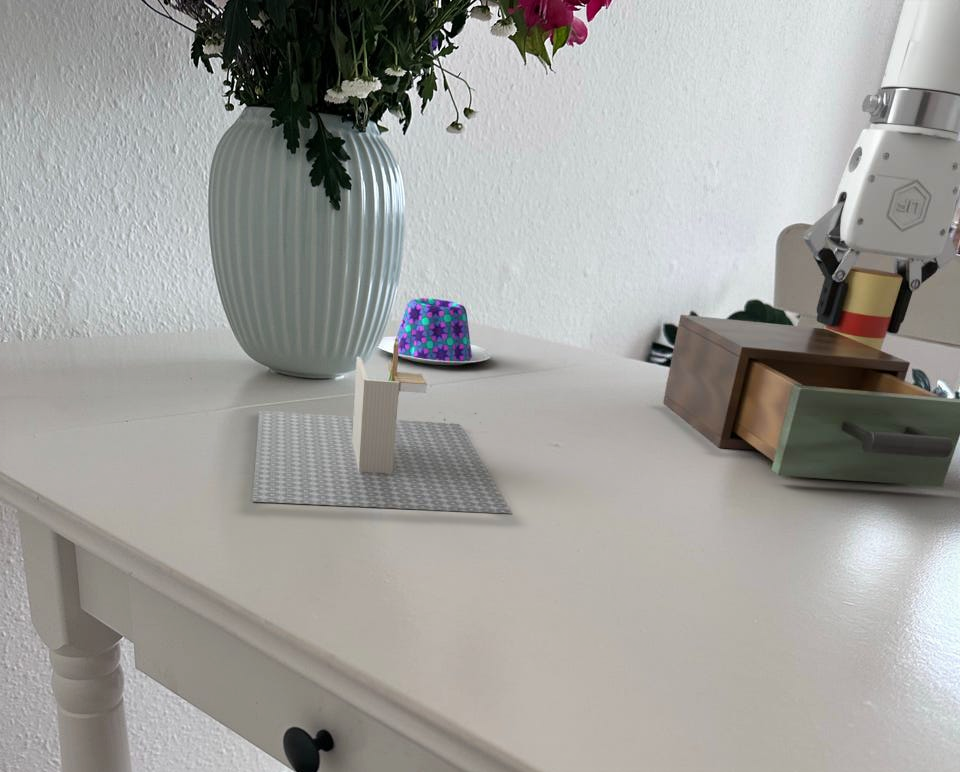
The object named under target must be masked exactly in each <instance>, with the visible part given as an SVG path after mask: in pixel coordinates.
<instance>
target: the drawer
mask: <svg viewBox="0 0 960 772" xmlns="http://www.w3.org/2000/svg"><path fill="white" fill-rule="evenodd" d="M732 431H733V432H734V433H736V434H737V435H738V436H740V437H741V438H743V439H744V440H745V441H747V442H748V443H749V444H751V445H752V446H753V447H755V448H756V449H757V450H756V451H758V450H759V452H760V453H762V454H763V455H764V456H766V457H767V458H768V459H769V460H771V461H772V466H771V472H773V473H774V474H775V475H777V476H780V477H796V478H810V479H824V480H839V481H853V482H855V481H856V482H857V481H858V482H870V483H883V484H884V483H885V484H900V485H915V486H916V485H917V486H931V487H943V486H944V482H945V480H946V477H947V475H948V471H949V469H950V465H951V462H952V460H953V456H954V454H955V451H956V449H957V445H958V443H959V440H960V398H950V397H942V396H941V395H939V394H936V393H934V392H932V391H929V390H927V389H924V388H922V387H920V386H917V385H915V384H913V383H910V382H909V381H907V380H905V381H904V380H902V379H899V378H897V377H895V376H893V375H890V374H888V373H886V372H883V371H881V370H877V369H866V368H855V367H844V366H833V365H822V364H811V363H800V362H789V361H778V360H767V359H756V358H749V359H748V364H747V368H746V372H745V376H744V381H743V385H742V389H741V393H740V398H739V402H738V406H737V410H736V414H735V419H734V423H733V427H732Z"/></svg>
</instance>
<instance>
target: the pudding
mask: <svg viewBox="0 0 960 772" xmlns="http://www.w3.org/2000/svg"><path fill="white" fill-rule="evenodd" d="M470 337H471V336H470V328H469V320H468V312H467V310H466V307H465V306H464V305H463V304H461V303H457V302H454V301H451V300H444V299H439V298H423V297H420V298H413V299H411V300H409V301H408V303H407V304H406V306H405V310H404V312H403V315H402V319H401V322H400V325H399V329H398V331H397V334H396V335H393V336H392V335H391V336H385V337H382V338H383V339H382V341H381V343H380V344H379V346H378V347H377V348H379V349H380V350H383V351H385V352H387V353H390V354H392V355H393V349H394V344H395V338H396V339H398V343H399V352H398V358H399V357H400V358H401V359H405V360H408V361H412V362H415V363H422V364H428V365H429V364H430V365H437V366H438V365H439V366H461V365H466V364H471V363H480V362H483V361H487V360H489V359H491V358H492V353H491V352H490V351H488V350H487V349H485V348H483V347H481V346H477V345H474V344H471V338H470Z"/></svg>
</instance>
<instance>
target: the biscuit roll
mask: <svg viewBox="0 0 960 772" xmlns="http://www.w3.org/2000/svg"><path fill="white" fill-rule="evenodd" d="M902 279H903V278H902V277H901V275H899V274H895V273H894V272H890V271H885V270H880V269H874V268H867V267H859V266H852V268H851V270H850V271H849V273H848V274H847V276H846V278H845V281H844V282H845V283H848V286H849V287H848V291H847V295H846V298H845V302H844V305H843V309H842V312H841V316H840V319H839V323H838V325H837V326H835V327H831V326H827V325H825V324H824V329H828V330H830V331H833V332H835V333H838V334H840V335H843V336H845V337H848V338H850V339H853V340H855V341H858V342H860V343H863V344H865V345H868V346H870V347H873V348H875V349H878V350H880V351H882V348H883V344H884V341H885V338H886V336H887V333H888V332H887V330H888V327H889V323H890V320H891V315H892V312H893V308H894V305H895V302H896V299H897V295H898V292H899V289H900V286H901V282H902Z"/></svg>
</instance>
